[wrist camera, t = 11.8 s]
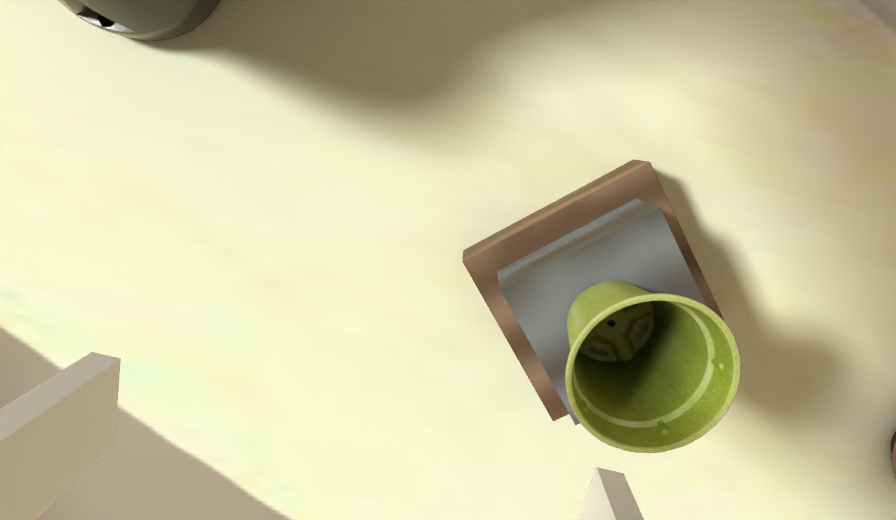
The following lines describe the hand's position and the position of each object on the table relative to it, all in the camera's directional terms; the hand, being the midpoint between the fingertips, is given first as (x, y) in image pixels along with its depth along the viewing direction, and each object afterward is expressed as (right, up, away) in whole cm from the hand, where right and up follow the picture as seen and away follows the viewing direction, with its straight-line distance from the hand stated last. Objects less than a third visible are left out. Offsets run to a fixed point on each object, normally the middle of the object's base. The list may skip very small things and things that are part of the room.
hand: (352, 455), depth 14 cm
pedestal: (+15, +3, +31) cm, 34 cm away
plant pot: (+14, +1, +23) cm, 27 cm away
